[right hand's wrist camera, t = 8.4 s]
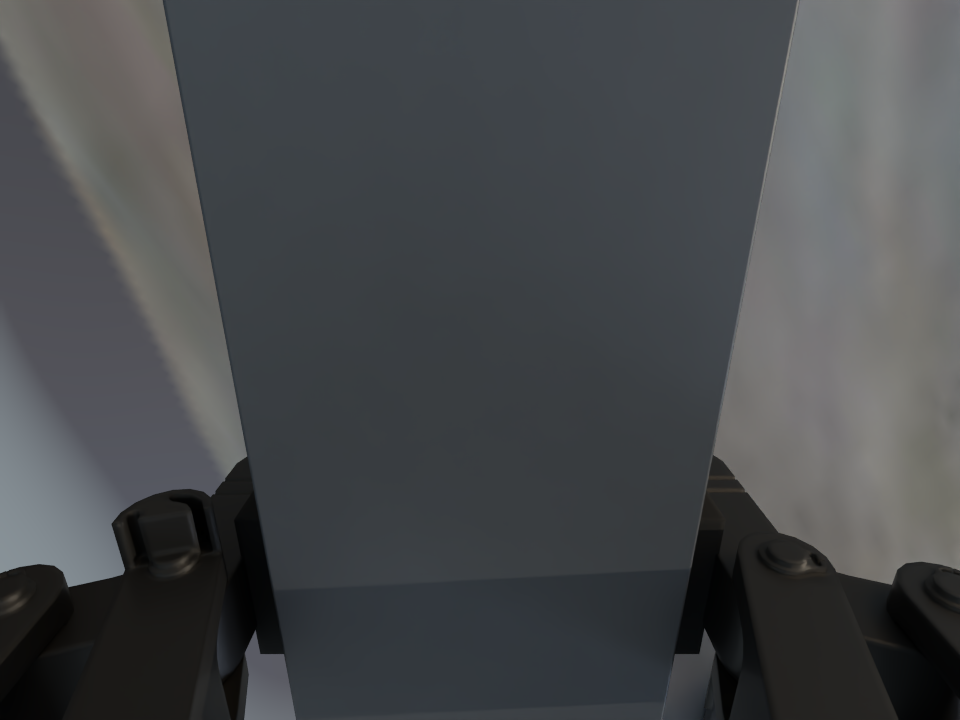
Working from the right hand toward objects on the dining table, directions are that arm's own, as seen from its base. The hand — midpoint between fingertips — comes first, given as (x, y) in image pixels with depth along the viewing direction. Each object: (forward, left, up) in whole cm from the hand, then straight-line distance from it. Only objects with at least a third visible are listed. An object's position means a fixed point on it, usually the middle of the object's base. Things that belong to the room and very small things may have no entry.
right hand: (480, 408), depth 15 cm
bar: (+23, +25, -1) cm, 34 cm away
